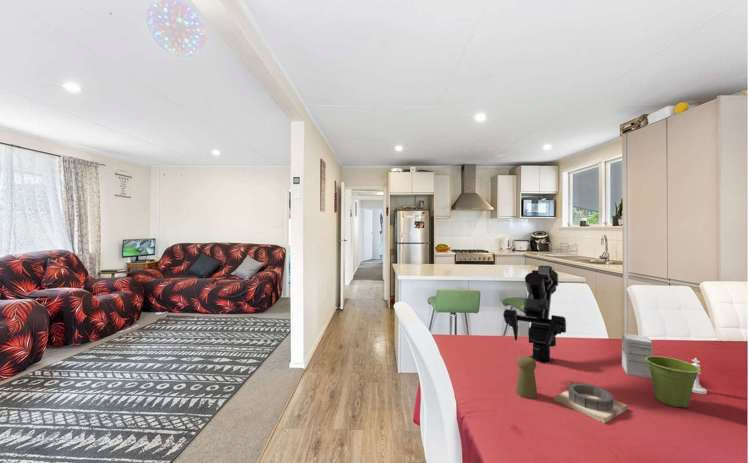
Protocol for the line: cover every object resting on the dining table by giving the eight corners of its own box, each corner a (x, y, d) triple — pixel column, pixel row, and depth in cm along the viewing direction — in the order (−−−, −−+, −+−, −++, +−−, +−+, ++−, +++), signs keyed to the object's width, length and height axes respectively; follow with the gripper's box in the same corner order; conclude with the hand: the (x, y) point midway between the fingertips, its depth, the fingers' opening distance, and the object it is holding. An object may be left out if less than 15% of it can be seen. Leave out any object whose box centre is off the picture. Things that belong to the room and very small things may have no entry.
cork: (540, 399, 94) (540, 362, 94) (518, 397, 95) (518, 360, 95) (534, 390, 100) (534, 354, 100) (513, 388, 101) (513, 353, 101)
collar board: (578, 389, 100) (578, 378, 100) (627, 409, 89) (627, 396, 89) (554, 400, 94) (554, 387, 94) (604, 423, 83) (604, 408, 83)
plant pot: (707, 417, 85) (707, 375, 86) (649, 405, 92) (649, 365, 92) (693, 398, 95) (693, 361, 96) (641, 388, 102) (642, 352, 102)
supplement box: (621, 366, 118) (621, 332, 118) (647, 371, 115) (647, 335, 115) (625, 374, 112) (625, 338, 112) (653, 379, 108) (653, 341, 108)
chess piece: (703, 395, 98) (703, 362, 98) (682, 388, 102) (682, 357, 102) (709, 391, 100) (709, 359, 100) (688, 385, 104) (688, 354, 104)
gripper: (504, 286, 114) (496, 324, 105) (565, 292, 103) (562, 335, 94) (509, 304, 120) (502, 342, 111) (567, 311, 110) (564, 353, 100)
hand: (530, 342), depth 104 cm, fingers open, 9 cm apart
